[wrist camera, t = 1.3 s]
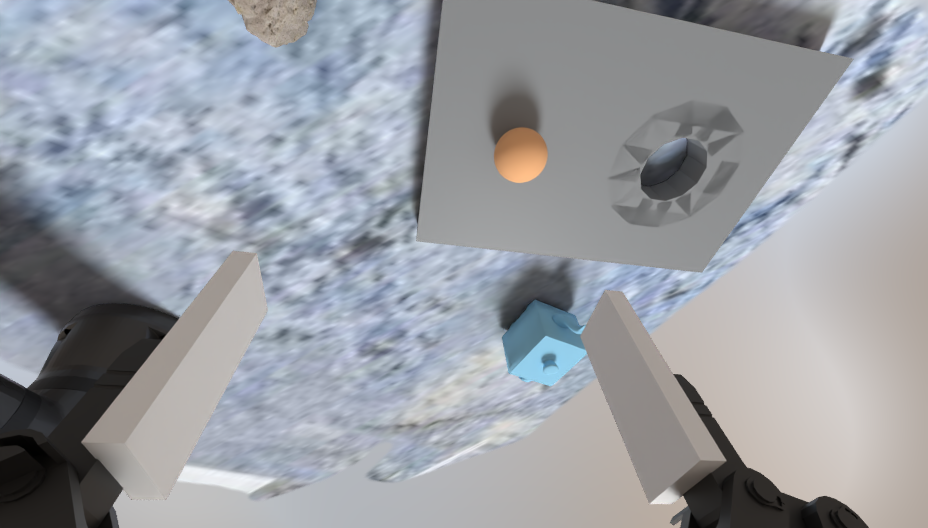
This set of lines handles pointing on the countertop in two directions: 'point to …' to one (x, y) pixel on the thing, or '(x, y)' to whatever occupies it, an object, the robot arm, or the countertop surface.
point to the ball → (520, 155)
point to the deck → (607, 128)
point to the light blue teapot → (543, 344)
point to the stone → (276, 19)
